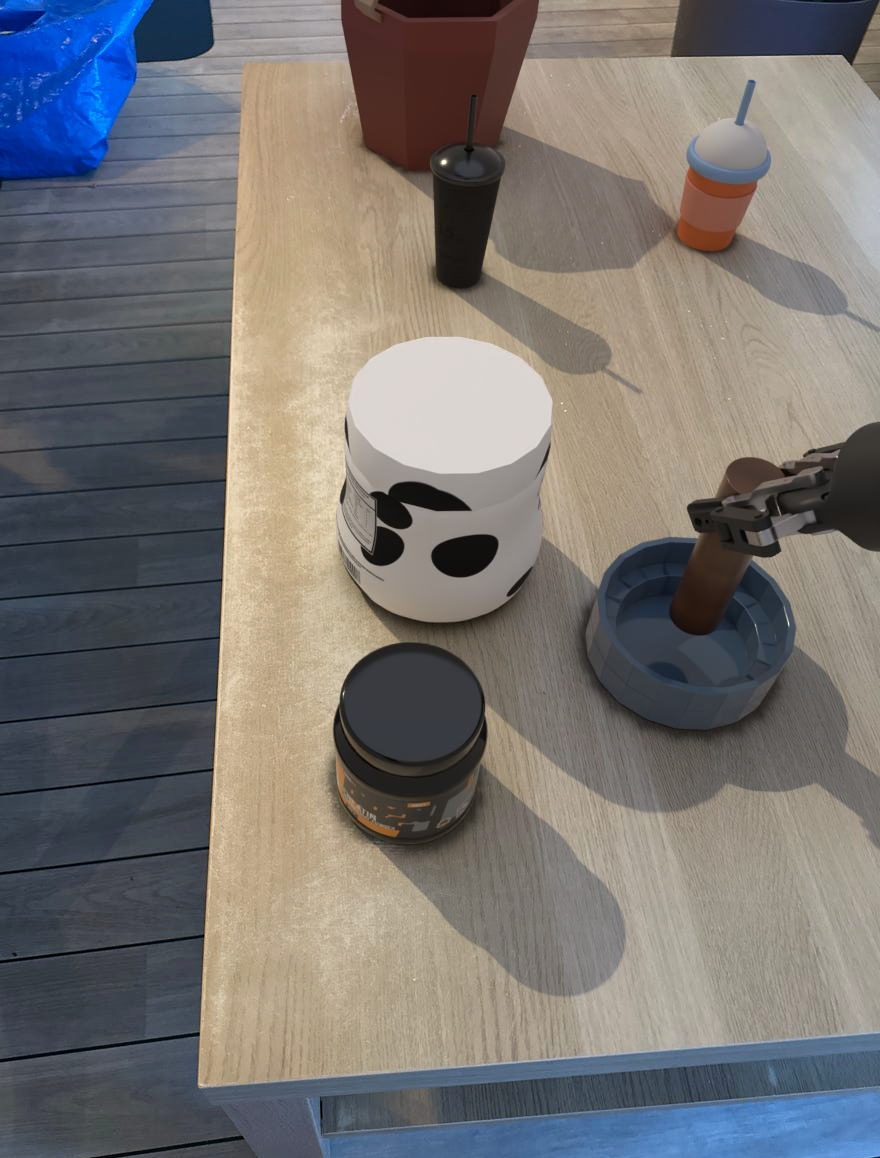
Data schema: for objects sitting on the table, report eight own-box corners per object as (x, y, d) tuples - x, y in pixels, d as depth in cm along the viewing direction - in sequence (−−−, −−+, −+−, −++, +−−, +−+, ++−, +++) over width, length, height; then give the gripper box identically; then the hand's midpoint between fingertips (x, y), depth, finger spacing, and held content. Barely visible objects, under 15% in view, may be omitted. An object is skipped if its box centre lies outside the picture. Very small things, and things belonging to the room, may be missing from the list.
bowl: (751, 586, 86) (775, 541, 81) (785, 738, 77) (814, 698, 73) (577, 579, 86) (590, 533, 81) (591, 730, 77) (607, 689, 72)
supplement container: (307, 771, 74) (299, 685, 65) (417, 700, 78) (425, 609, 69) (392, 878, 70) (398, 803, 60) (505, 797, 74) (527, 713, 64)
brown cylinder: (682, 587, 79) (740, 448, 67) (728, 610, 78) (796, 473, 66) (660, 619, 77) (716, 482, 65) (707, 644, 76) (773, 509, 64)
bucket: (464, 84, 137) (482, -137, 117) (561, 159, 126) (599, -69, 106) (308, 127, 129) (298, -102, 108) (397, 211, 118) (405, -25, 98)
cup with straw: (695, 209, 120) (742, 52, 106) (757, 243, 117) (814, 84, 102) (648, 237, 117) (689, 78, 102) (710, 272, 113) (762, 112, 98)
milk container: (560, 525, 90) (599, 365, 75) (492, 669, 80) (521, 518, 66) (386, 466, 93) (391, 302, 79) (302, 597, 84) (289, 438, 69)
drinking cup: (440, 252, 114) (453, 69, 97) (502, 271, 112) (525, 88, 96) (411, 288, 110) (420, 103, 93) (475, 308, 108) (495, 123, 92)
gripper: (1004, 366, 56) (766, 412, 71) (845, 471, 50) (625, 496, 66) (1036, 489, 58) (797, 508, 73) (886, 602, 52) (663, 597, 68)
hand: (717, 502), depth 69 cm, fingers closed on brown cylinder, 4 cm apart
